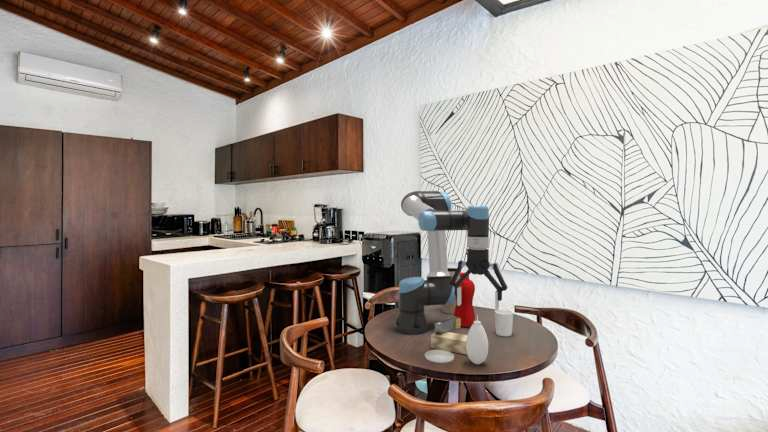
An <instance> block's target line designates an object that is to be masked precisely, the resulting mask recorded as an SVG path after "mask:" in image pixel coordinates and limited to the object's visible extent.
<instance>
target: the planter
mask: <svg viewBox="0 0 768 432" xmlns="http://www.w3.org/2000/svg"><path fill="white" fill-rule="evenodd" d="M456 269H457V267H448V273H449V274H451V278H452V277H453V275H454V273H455V271H456ZM460 273H462V271H461V272H460ZM460 273H459V275H458V277H457V279H456V281H457V280H459V279H460ZM455 307H456V298H455V300H454V302H453V303H452V304H446V305H441V311H442V313H444V314H447V315H454V312H455Z"/></svg>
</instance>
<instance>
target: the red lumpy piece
mask: <svg viewBox="0 0 768 432" xmlns="http://www.w3.org/2000/svg"><path fill="white" fill-rule="evenodd" d="M465 273H466V272H462V271H461V273H460V278H461V277H462V276H463V275H464V274H465ZM457 282H458V280H457V281H456V283H457ZM475 286H476V285H475V283H474V281H473V280H472V279H470V274H469V275H468V276H467V277H466V279H465V280H464V281H463V282H462V283H461V284H460V285H459V287H461V305H460V306H457V296H456V307H455V312H454V314H453V316H455V317H459V318H461V327H463V328H471V326H472V325H473V324H474V321H476V314H475V309H474V305H473V300H474V296H475V291H476V287H475Z"/></svg>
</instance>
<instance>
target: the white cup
mask: <svg viewBox="0 0 768 432" xmlns="http://www.w3.org/2000/svg"><path fill="white" fill-rule="evenodd" d="M494 322H495V323H494V324H495V326H494V327H495V334H496V335H498V336H501V337H510V336H511V337H512V335H513V324H514V311H513V310H510V309H505V308H499V309H498V310H497V311H496V310H495V309H494Z"/></svg>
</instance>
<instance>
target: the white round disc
mask: <svg viewBox="0 0 768 432" xmlns="http://www.w3.org/2000/svg"><path fill="white" fill-rule="evenodd" d="M424 358H425V359H426V360H427V361H428V362H431V363H435V364H447V363H450V362H453V361H454V360H455V355H454V354H453V353H452V352H451V351H446V350H441V349H431V350H430V349H429V350H428V351H425V353H424Z"/></svg>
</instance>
